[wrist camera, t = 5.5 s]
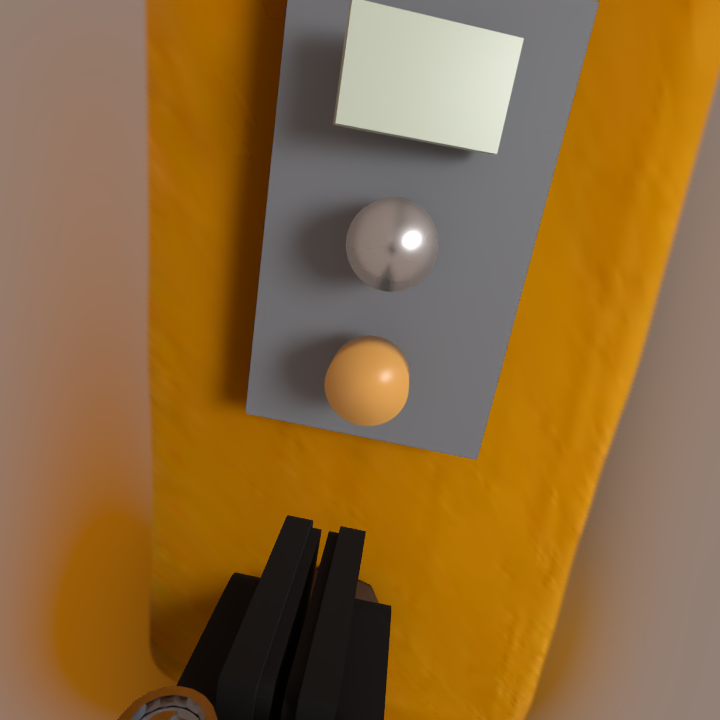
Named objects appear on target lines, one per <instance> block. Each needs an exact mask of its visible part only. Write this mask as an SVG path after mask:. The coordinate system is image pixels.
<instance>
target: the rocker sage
mask: <svg viewBox="0 0 720 720" xmlns="http://www.w3.org/2000/svg"><path fill="white" fill-rule="evenodd" d="M523 40H524V38H521V37H516V36H512V35H508V34H504V33H500V32H495V31H491V30H487V29H483V28H479V27H474V26H470V25H466V24H462V23H458V22H453V21H449V20H445V19H441V18H436V17H432V16H428V15H424V14H420V13H415V12H411V11H407V10H403V9H399V8H394V7H390V6H386V5H382V4H378V3H373V2H369V1H365V0H351V2H350V4H349V9H348V16H347V24H346V31H345V39H344V46H343V54H342V61H341V68H340V76H339V83H338V91H337V98H336V106H335V113H334V120H333V125H336V126H341V127H346V128H352V129H357V130H362V131H367V132H373V133H378V134H383V135H388V136H394V137H399V138H404V139H410V140H415V141H420V142H425V143H431V144H436V145H441V146H446V147H452V148H457V149H462V150H467V151H473V152H478V153H483V154H497V152H498V148H499V144H500V139H501V135H502V131H503V126H504V122H505V118H506V114H507V109H508V105H509V101H510V96H511V92H512V88H513V83H514V79H515V75H516V70H517V66H518V62H519V57H520V53H521V49H522V44H523Z"/></svg>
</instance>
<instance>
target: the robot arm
mask: <svg viewBox="0 0 720 720" xmlns="http://www.w3.org/2000/svg"><path fill="white" fill-rule="evenodd" d="M312 527H313V520H308V519H303V518H299V517H294V516H289V515H288V516H287V517H286V519H285V522H284V524H283V526H282V529H281V531H280V533H279V536H278V538H277V541H276V543H275V545H274V548H273V550H272V552H271V555H270V557H269V560H268V562H267V564H266V567H265V569H264V571H263V574H262V576H261V578H258V577H254V576H249V575H244V574H240V573H234V574H233V575H232V577H231V578H230V580H229V582H228V584H227V586H226V588H225V590H224V592H223V594H222V596H221V598H220V600H219V602H218V604H217V606H216V608H215V610H214V612H213V614H212V616H211V618H210V620H209V622H208V624H207V626H206V628H205V630H204V632H203V634H202V636H201V638H200V640H199V642H198V644H197V646H196V648H195V650H194V652H193V654H192V656H191V658H190V660H189V662H188V664H187V666H186V668H185V670H184V672H183V674H182V676H181V678H180V680H179V682H178V684H177V686H171V687H163V688H159V689H156V690H153V691H150V692H148V693H146V694H145V695H143V696H142V697H140V698H138V699H137V700H135V701H134V702H133V703H132V704H131V705H130V706H129V707H128V708H127V709H126V710H125V711H124V712H123V713H122V714H121V716H120V717H119V718H118V719H117V720H384V709H385V694H386V680H387V666H388V651H389V637H390V622H391V606H389V605H385V604H380V603H375V602H371V601H366V600H361V599H357V598H355V595H356V588H357V582H358V576H359V570H360V564H361V558H362V552H363V546H364V539H365V533H366V531H361V530H357V529H352V528H347V527H342V526H341V527H340V530H339V533H336V532H331V531H329V533H328V537H327V541H326V544H325V548H324V552H323V555H322V559H321V563H320V566H319V570H318V573H317V577H316V581H315V584H314V588H313V592H312V595H311V591H312V585H313V579H314V573H315V567H316V561H317V555H318V549H319V543H320V537H321V529H316V528H312ZM310 597H311V599H310Z"/></svg>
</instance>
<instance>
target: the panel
mask: <svg viewBox="0 0 720 720" xmlns="http://www.w3.org/2000/svg"><path fill="white" fill-rule="evenodd" d="M365 1H369V2H373V3H378V4H382V5H386V6H390V7H394V8H399V9H403V10H407V11H411V12H415V13H420V14H424V15H428V16H432V17H436V18H441V19H445V20H449V21H453V22H458V23H462V24H466V25H470V26H474V27H479V28H483V29H487V30H491V31H495V32H500V33H504V34H508V35H512V36H516V37H521V38H524V40H523V44H522V49H521V53H520V57H519V62H518V66H517V70H516V75H515V79H514V83H513V88H512V92H511V96H510V101H509V105H508V109H507V114H506V118H505V122H504V126H503V131H502V135H501V139H500V144H499V148H498V152H497V154H483V153H478V152H473V151H467V150H462V149H457V148H452V147H446V146H441V145H436V144H431V143H425V142H420V141H415V140H410V139H404V138H399V137H394V136H388V135H383V134H378V133H373V132H367V131H362V130H357V129H352V128H346V127H341V126H336V125H333V120H334V113H335V106H336V98H337V91H338V83H339V76H340V68H341V61H342V54H343V46H344V39H345V31H346V24H347V16H348V9H349V4H350V2H351V0H287V10H286V20H285V30H284V40H283V50H282V59H281V69H280V79H279V89H278V99H277V109H276V118H275V128H274V138H273V148H272V158H271V167H270V177H269V187H268V197H267V207H266V217H265V226H264V236H263V246H262V256H261V266H260V275H259V285H258V295H257V305H256V315H255V325H254V334H253V344H252V354H251V364H250V374H249V384H248V393H247V403H246V414H251V415H256V416H261V417H266V418H271V419H276V420H281V421H286V422H291V423H296V424H301V425H306V426H311V427H316V428H321V429H326V430H331V431H336V432H341V433H346V434H351V435H356V436H361V437H366V438H371V439H376V440H381V441H386V442H391V443H396V444H401V445H406V446H411V447H416V448H421V449H426V450H431V451H435V452H440V453H445V454H450V455H455V456H460V457H465V458H470V459H475V460H477V458H478V454H479V450H480V447H481V443H482V439H483V435H484V432H485V428H486V424H487V420H488V417H489V413H490V409H491V405H492V402H493V398H494V394H495V390H496V387H497V383H498V379H499V375H500V372H501V368H502V364H503V360H504V357H505V353H506V349H507V346H508V342H509V338H510V334H511V331H512V327H513V323H514V319H515V316H516V312H517V308H518V304H519V301H520V297H521V293H522V289H523V286H524V282H525V278H526V274H527V271H528V267H529V263H530V259H531V256H532V252H533V248H534V244H535V241H536V237H537V233H538V229H539V226H540V222H541V218H542V214H543V211H544V207H545V203H546V199H547V196H548V192H549V188H550V184H551V181H552V177H553V173H554V170H555V166H556V162H557V158H558V155H559V151H560V147H561V143H562V140H563V136H564V132H565V128H566V125H567V121H568V117H569V113H570V110H571V106H572V102H573V98H574V95H575V91H576V87H577V83H578V80H579V76H580V72H581V68H582V65H583V61H584V57H585V53H586V50H587V46H588V42H589V38H590V35H591V31H592V27H593V23H594V20H595V16H596V12H597V8H598V5H599V1H594V0H365ZM387 197H403V198H407V199H410V200H412V201H414V202H416V203H418V204H419V205H420V206H422V207H423V208H424V209H425V210H426V211H427V212H428V214H429V215H430V216H431V218H432V220H433V222H434V225H435V227H436V231H437V235H438V242H439V243H438V254H437V258H436V261H435V264H434V266H433V268H432V269H431V271H430V272H429V274H428V275H427V276H426V277H425V278H424V279H423V280H422V281H421V282H420V283H418V284H417V285H415V286H413V287H411V288H409V289H406V290H403V291H397V292H387V291H381V290H377V289H375V288H372V287H371V286H369V285H367V284H366V283H364V282H363V281H362V280H361V279H360V278H359V277H358V276H357V275H356V274H355V272H354V271H353V269H352V268H351V265H350V263H349V261H348V257H347V252H346V237H347V233H348V230H349V227H350V225H351V223H352V221H353V219H354V218H355V216H356V215H357V214H358V213H359V212H360V211H361V210H362V209H363V208H364V207H365V206H367V205H368V204H370V203H372V202H374V201H376V200H380V199H383V198H387ZM366 335H372V336H379V337H382V338H385V339H387V340H389V341H391V342H392V343H394V344H395V345H396V346H397V347H399V348H400V350H401V351H402V352H403V354H404V355H405V357H406V359H407V361H408V365H409V370H410V379H409V392H408V397H407V401H406V403H405V405H404V407H403V408H402V410H401V411H400V412H399V414H397V415H396V416H395V417H394V418H393V419H391V420H389V421H388V422H386V423H383V424H380V425H375V426H361V425H357V424H353V423H351V422H348V421H347V420H345V419H343V418H342V417H340V416H339V415H338V414H337V413H336V412H335V411H334V410H333V408H332V407H331V405H330V404H329V402H328V400H327V397H326V393H325V385H324V384H325V377H326V373H327V370H328V368H329V366H330V364H331V362H332V361H333V359H334V357H335V355H336V353H337V352H338V350H339V349H340V348H341V347H342V346H343V345H344V344H345V343H346V342H348V341H350V340H351V339H354V338H356V337H360V336H366Z"/></svg>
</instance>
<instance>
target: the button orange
mask: <svg viewBox="0 0 720 720" xmlns="http://www.w3.org/2000/svg"><path fill="white" fill-rule="evenodd" d="M409 379H410V370H409V365H408V361H407V359H406V357H405V355H404V354H403V352H402V351H401V350H400V348H399V347H397V346H396V345H395V344H394V343H392V342H391V341H389V340H387V339H385V338H382V337H379V336H372V335H366V336H360V337H356V338H354V339H351V340H350V341H348V342H346V343H345V344H344V345H343V346H342V347H341V348H340V349H339V350H338V352H337V353H336V355H335V357H334V359H333V361H332V362H331V364H330V366H329V368H328V370H327V373H326V377H325V384H324V385H325V393H326V397H327V400H328V402H329V404H330V405H331V407H332V408H333V410H334V411H335V412H336V413H337V414H338V415H339V416H340V417H342V418H343V419H345V420H347V421H348V422H351V423H353V424H357V425H361V426H375V425H380V424H383V423H386V422H388V421H389V420H391V419H393V418H394V417H395V416H396V415H397V414H399V412H400V411H401V410H402V408H403V407H404V405H405V403H406V401H407V397H408V392H409Z"/></svg>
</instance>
